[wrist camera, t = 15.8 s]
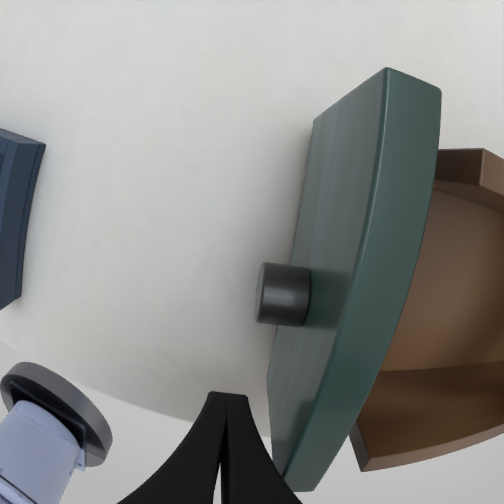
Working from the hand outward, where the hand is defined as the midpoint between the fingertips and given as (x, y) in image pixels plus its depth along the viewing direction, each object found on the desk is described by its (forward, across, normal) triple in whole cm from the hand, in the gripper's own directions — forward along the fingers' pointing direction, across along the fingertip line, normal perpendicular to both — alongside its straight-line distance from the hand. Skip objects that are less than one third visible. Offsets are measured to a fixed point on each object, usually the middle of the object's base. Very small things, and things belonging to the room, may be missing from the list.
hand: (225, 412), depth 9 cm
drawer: (+3, -10, -5) cm, 12 cm away
